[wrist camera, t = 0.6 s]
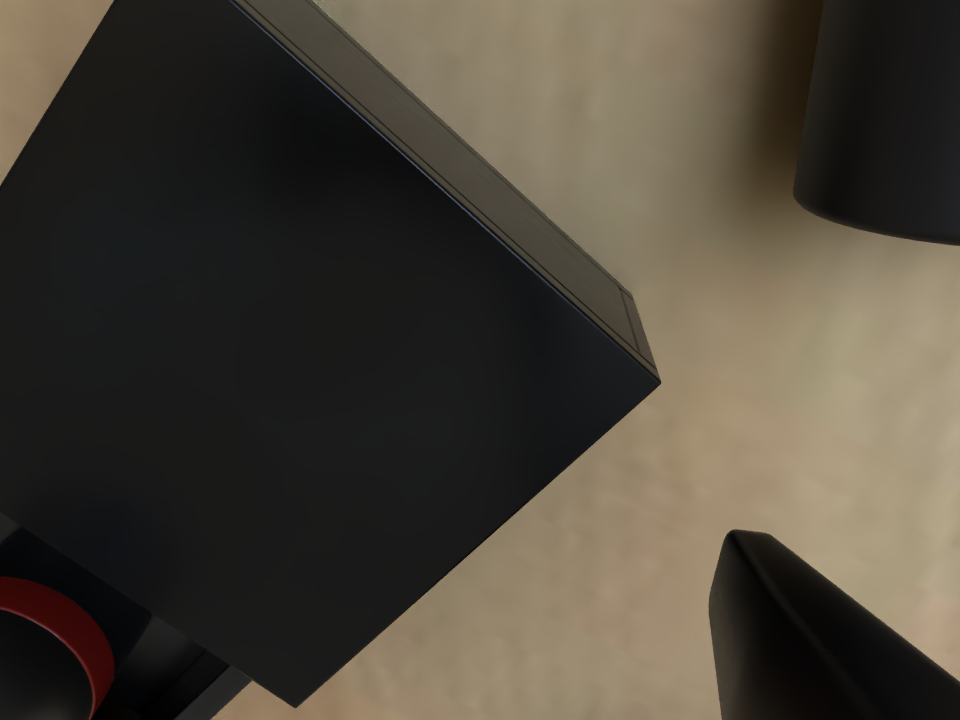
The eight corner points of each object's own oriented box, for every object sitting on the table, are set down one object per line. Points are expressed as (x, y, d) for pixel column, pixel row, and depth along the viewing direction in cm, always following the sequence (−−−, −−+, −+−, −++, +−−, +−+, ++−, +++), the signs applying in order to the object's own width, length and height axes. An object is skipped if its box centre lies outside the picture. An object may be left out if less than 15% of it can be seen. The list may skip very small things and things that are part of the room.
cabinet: (343, 572, 26) (295, 710, 21) (7, 328, 23) (-144, 417, 18) (633, 294, 22) (663, 383, 17) (260, -48, 19) (155, -71, 14)
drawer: (92, 800, 30) (30, 910, 27) (-186, 635, 28) (-298, 731, 24) (353, 548, 25) (320, 643, 21) (34, 313, 22) (-67, 373, 19)
